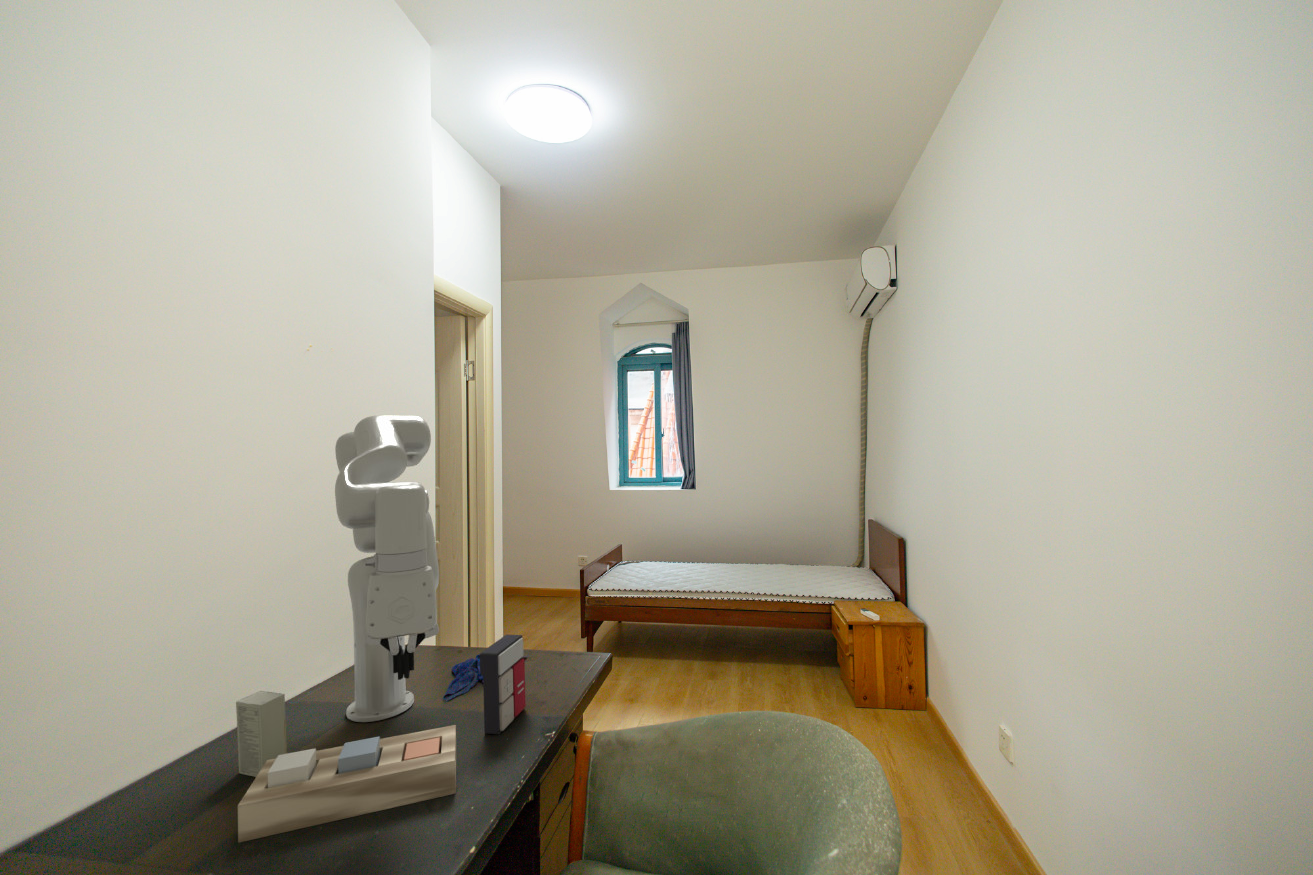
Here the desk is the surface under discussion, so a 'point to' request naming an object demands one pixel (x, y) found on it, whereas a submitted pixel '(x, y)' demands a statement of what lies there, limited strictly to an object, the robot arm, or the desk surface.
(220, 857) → the desk surface
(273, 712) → the skincare box
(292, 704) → the desk surface
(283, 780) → the offwhite key
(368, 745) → the slate key
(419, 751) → the terracotta key
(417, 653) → the desk surface
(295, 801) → the key console
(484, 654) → the calculator
